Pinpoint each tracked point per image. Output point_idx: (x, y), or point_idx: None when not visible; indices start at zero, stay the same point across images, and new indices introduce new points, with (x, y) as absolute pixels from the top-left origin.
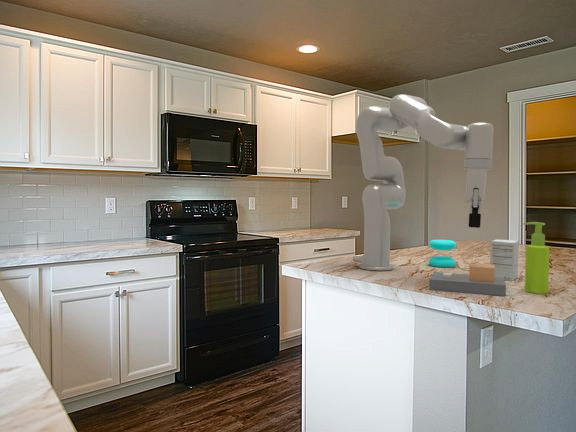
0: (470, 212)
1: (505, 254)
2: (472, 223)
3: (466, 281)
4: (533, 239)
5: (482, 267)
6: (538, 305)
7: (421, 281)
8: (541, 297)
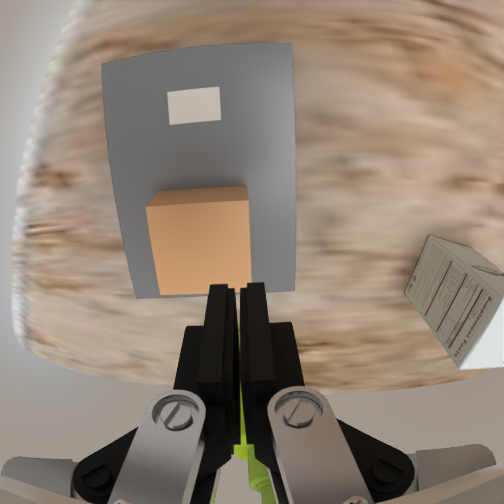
0: (149, 407)
1: (450, 318)
2: (187, 333)
3: (126, 186)
4: (255, 462)
5: (153, 254)
6: (96, 337)
7: (257, 12)
8: None
